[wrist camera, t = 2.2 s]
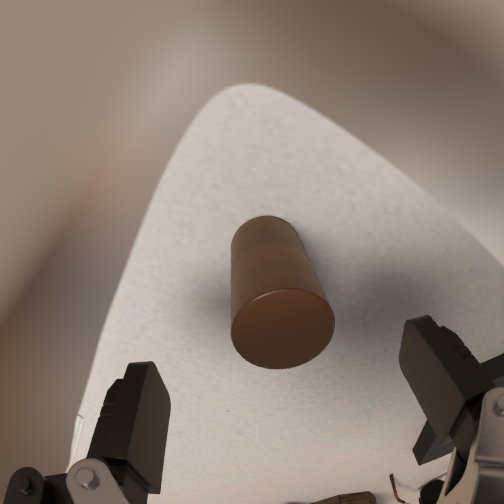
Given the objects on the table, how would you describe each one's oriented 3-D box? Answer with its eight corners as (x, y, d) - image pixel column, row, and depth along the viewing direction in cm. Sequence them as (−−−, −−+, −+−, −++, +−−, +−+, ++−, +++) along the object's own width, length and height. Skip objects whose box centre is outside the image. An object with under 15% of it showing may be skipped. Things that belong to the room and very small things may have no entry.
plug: (225, 221, 16) (221, 298, 10) (295, 210, 16) (335, 280, 10) (237, 282, 18) (240, 376, 11) (301, 272, 18) (334, 360, 11)
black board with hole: (443, 378, 23) (455, 397, 21) (526, 341, 23) (538, 355, 21) (412, 450, 29) (418, 466, 27) (486, 418, 29) (494, 430, 27)
